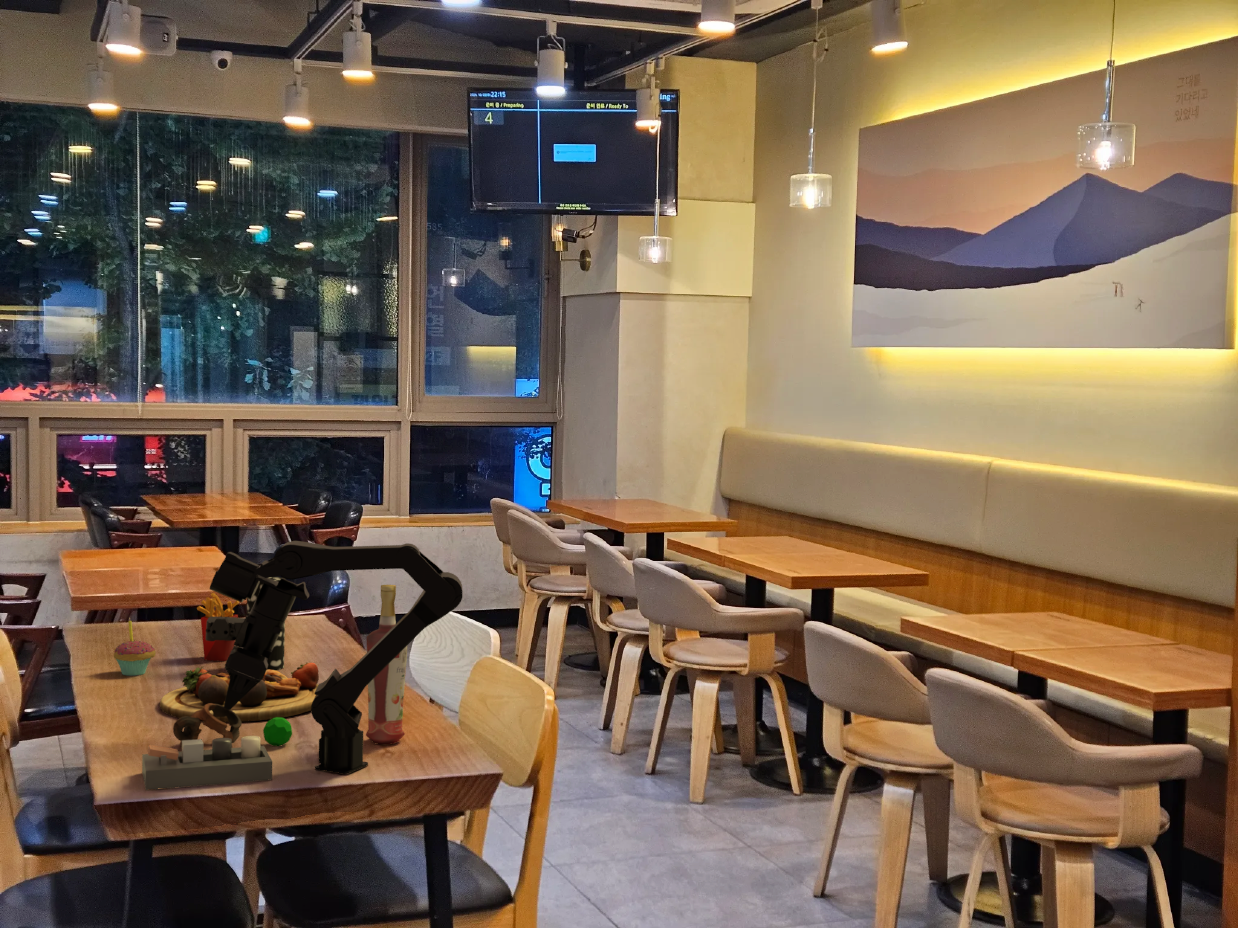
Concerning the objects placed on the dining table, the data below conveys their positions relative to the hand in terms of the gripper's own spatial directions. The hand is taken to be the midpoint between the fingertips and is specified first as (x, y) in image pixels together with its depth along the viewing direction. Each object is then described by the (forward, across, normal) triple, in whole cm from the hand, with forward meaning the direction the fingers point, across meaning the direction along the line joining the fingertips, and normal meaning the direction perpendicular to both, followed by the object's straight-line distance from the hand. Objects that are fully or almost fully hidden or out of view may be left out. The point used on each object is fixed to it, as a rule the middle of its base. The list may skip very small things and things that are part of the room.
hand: (229, 701), depth 216 cm
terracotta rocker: (+10, +6, -6) cm, 13 cm away
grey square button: (+10, +5, -2) cm, 11 cm away
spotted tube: (+13, -82, +5) cm, 83 cm away
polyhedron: (+8, -14, +11) cm, 20 cm away
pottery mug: (+13, -14, 0) cm, 19 cm away
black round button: (+8, +4, +2) cm, 9 cm away
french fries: (+18, -92, -6) cm, 94 cm away
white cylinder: (+6, +3, +7) cm, 10 cm away
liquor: (+1, -15, +28) cm, 32 cm away
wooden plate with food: (+13, -47, +4) cm, 49 cm away
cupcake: (+23, -77, -20) cm, 83 cm away
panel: (+11, +4, +2) cm, 12 cm away
